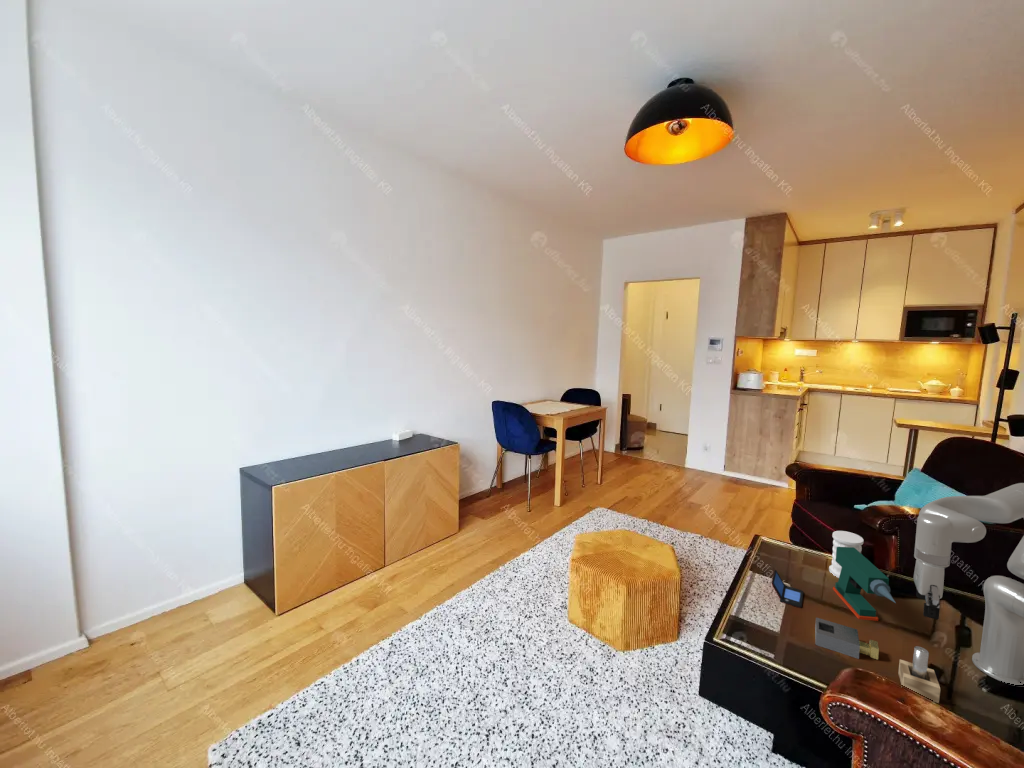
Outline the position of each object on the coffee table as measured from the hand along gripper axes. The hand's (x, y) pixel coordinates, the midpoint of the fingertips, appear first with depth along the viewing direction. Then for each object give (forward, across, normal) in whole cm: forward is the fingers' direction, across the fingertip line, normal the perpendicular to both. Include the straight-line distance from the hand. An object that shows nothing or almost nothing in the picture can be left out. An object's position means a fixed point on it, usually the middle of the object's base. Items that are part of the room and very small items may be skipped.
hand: (926, 607), depth 128 cm
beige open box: (+28, 0, 0) cm, 28 cm away
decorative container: (+28, -61, -15) cm, 69 cm away
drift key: (+27, -8, -15) cm, 32 cm away
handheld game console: (+28, -30, -36) cm, 55 cm away
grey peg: (+28, 0, 0) cm, 28 cm away
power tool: (+28, -32, -10) cm, 43 cm away
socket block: (+27, -8, -20) cm, 35 cm away
